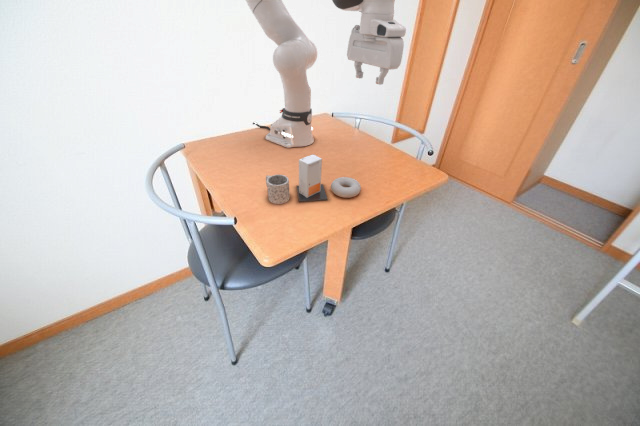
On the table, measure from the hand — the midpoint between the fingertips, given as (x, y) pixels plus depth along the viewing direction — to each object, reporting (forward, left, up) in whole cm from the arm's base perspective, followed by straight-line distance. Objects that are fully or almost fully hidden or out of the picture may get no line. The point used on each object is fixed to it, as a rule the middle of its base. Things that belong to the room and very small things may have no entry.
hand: (368, 80), depth 84 cm
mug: (-16, -30, -31) cm, 46 cm away
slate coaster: (-7, -23, -31) cm, 39 cm away
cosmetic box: (-7, -23, -31) cm, 39 cm away
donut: (+2, -16, -31) cm, 35 cm away
